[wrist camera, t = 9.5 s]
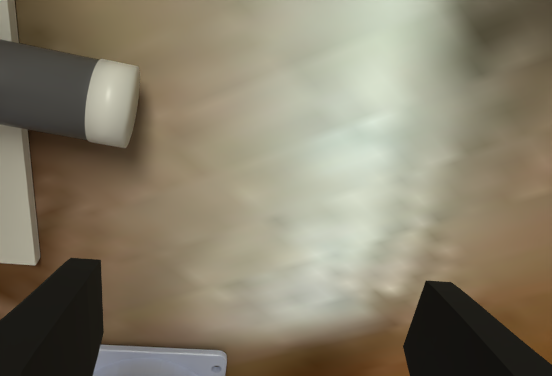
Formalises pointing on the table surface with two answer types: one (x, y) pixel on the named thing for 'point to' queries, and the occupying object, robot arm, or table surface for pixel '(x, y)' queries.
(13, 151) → the notepad
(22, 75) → the cylinder
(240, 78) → the table surface
